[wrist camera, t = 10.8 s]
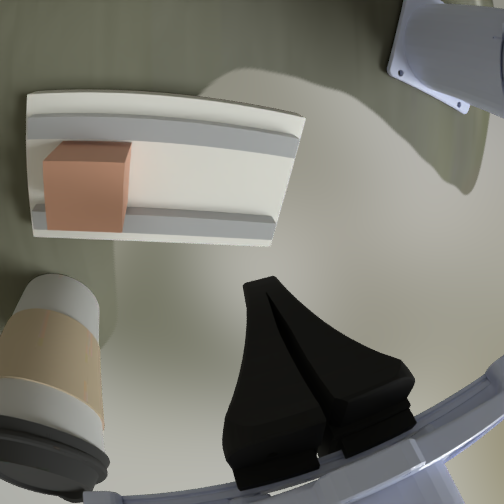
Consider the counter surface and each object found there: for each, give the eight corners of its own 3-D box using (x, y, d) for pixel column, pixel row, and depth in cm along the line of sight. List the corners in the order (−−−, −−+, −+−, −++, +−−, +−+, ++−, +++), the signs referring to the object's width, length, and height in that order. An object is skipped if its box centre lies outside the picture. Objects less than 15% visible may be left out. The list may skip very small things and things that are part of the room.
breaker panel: (296, 113, 19) (313, 121, 17) (264, 235, 23) (274, 255, 22) (36, 91, 14) (20, 97, 12) (40, 225, 18) (29, 245, 16)
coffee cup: (-6, 296, 20) (-54, 461, 8) (55, 239, 19) (-3, 448, 7) (67, 355, 26) (58, 508, 14) (134, 315, 25) (145, 500, 13)
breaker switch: (131, 142, 16) (124, 162, 13) (127, 202, 18) (121, 232, 15) (63, 140, 15) (42, 161, 12) (64, 199, 16) (47, 230, 14)
